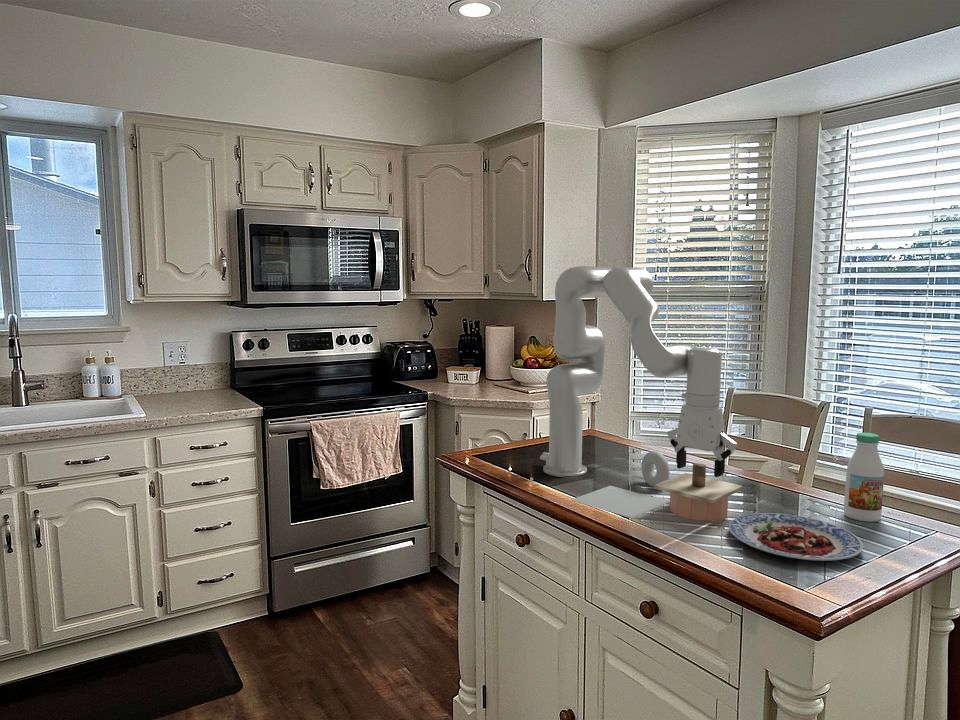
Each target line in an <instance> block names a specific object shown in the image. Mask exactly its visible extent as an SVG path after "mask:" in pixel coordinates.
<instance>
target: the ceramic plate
mask: <svg viewBox="0 0 960 720" xmlns="http://www.w3.org/2000/svg"><path fill="white" fill-rule="evenodd" d="M728 529H729V532H730V533H731V534H732V535H733V537H735V538H736V539H737V540H739V541H740V542H742V543H743V544H746V545H747V546H750V547H751V548H755V549H757V550H760V551H763V552H766V553H769V554H773V555H776V556H781V557H786V558H792V559H799V560H805V561H818V562H819V561H824V562H825V561H839V560H841V561H842V560H844V559H850V558H851V559H852V558H853V557H856V556H858V555H859V554H860V553H862V552H863V549H864V544H863V542H862V540H861V539H860V538H859V537H858V536H856V535H855V534H853V533H852V532H851V531H849V530H847V529H846V528H842V527H840V526H839V525H836V524H833V523H830V522H827V521H824V520H820V519H815V518H812V517H808V516H807V517H806V516H803V515H795V514H787V513H775V512H774V513H773V512H761V513H750V514H745V515H741V516H738V517H736V518H734V519H732V520H731V521H730V523H729V524H728Z"/></svg>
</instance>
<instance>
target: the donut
mask: <svg viewBox="0 0 960 720" xmlns="http://www.w3.org/2000/svg"><path fill="white" fill-rule="evenodd" d="M654 467H655V468H654ZM655 469H656V472H655ZM640 471H641V474H642V478H643V479H644V481H645V483H646V484H647V485H648V486H650V487H653V488H654V485H656V484H658V483H661V482H663V481H666V480H669V479H670V465H669V462H668V460H667V458H666V457H665V455H664V454H663V453H661V452H659V451H658V450H657V451H656V450H650V451H648V452H646V453H645V454H644V455H643V458H642V461H641V464H640Z"/></svg>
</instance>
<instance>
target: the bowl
mask: <svg viewBox="0 0 960 720" xmlns="http://www.w3.org/2000/svg"><path fill="white" fill-rule="evenodd" d="M669 501H670V502H669V511H670V512H671V513H673V514H675V515H676V516H678V517H682V518H684V519H689V520H696V521H705V522H707V523H708V524H710V523H711V524H712V523H720V522H723V521H724V520H726V519H728V505H729V496H728V497H726V498H724V499H721V500H719V501H717V502H715V503H709V502H705V501H701V500H697V499H693V498H689V497H686V496H682V495H678V494H674V493H670V492H669ZM708 521H709V522H708Z"/></svg>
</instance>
